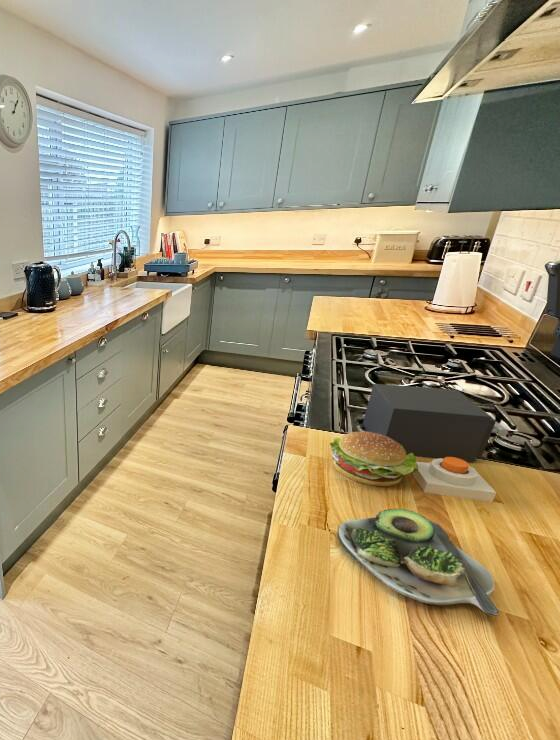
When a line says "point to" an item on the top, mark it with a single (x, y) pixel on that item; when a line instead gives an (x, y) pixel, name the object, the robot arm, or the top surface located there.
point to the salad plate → (417, 559)
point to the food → (372, 458)
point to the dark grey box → (427, 420)
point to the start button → (455, 465)
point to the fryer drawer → (493, 428)
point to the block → (452, 482)
